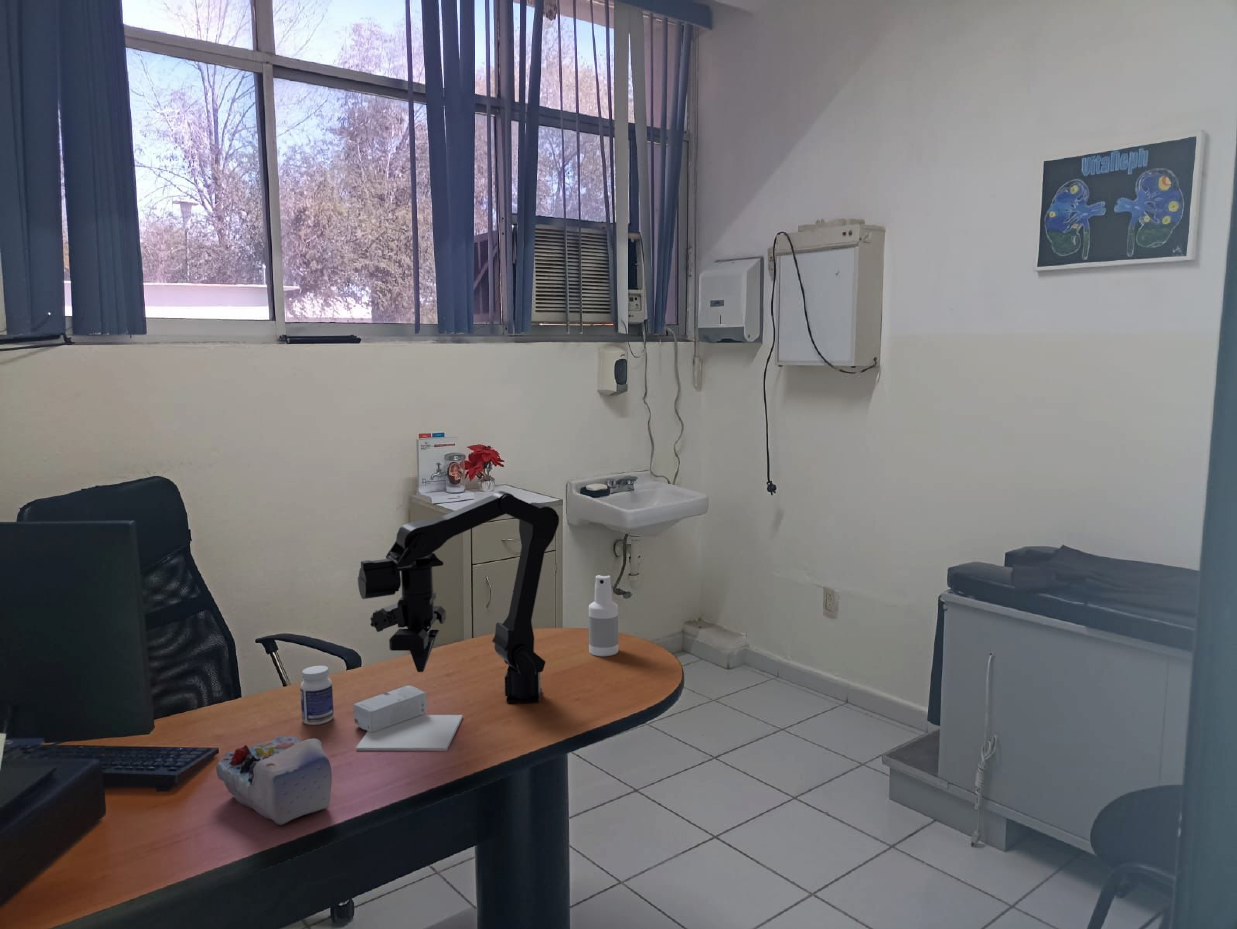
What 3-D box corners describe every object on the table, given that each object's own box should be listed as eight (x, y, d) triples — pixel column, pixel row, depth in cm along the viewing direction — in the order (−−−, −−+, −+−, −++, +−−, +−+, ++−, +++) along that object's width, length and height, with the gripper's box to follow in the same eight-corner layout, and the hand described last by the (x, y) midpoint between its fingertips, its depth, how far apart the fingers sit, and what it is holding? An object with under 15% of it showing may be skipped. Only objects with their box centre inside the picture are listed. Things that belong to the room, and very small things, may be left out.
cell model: (268, 768, 123) (205, 732, 136) (274, 840, 124) (211, 798, 137) (349, 737, 133) (283, 706, 146) (354, 804, 134) (288, 768, 147)
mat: (462, 717, 166) (462, 715, 166) (446, 750, 152) (446, 747, 152) (379, 717, 166) (379, 715, 166) (355, 750, 152) (355, 747, 152)
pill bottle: (340, 716, 167) (337, 666, 166) (318, 728, 162) (315, 676, 160) (317, 711, 169) (314, 662, 168) (295, 723, 164) (292, 672, 163)
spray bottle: (586, 656, 199) (585, 579, 197) (592, 646, 206) (591, 572, 204) (615, 657, 198) (615, 580, 196) (620, 647, 205) (620, 573, 202)
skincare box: (426, 691, 166) (370, 710, 157) (427, 714, 167) (371, 734, 158) (407, 684, 170) (352, 701, 161) (408, 706, 171) (353, 725, 162)
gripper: (388, 578, 171) (392, 654, 173) (358, 605, 153) (362, 690, 155) (444, 578, 171) (447, 654, 173) (421, 605, 153) (424, 690, 155)
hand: (420, 671), depth 164 cm, fingers closed
